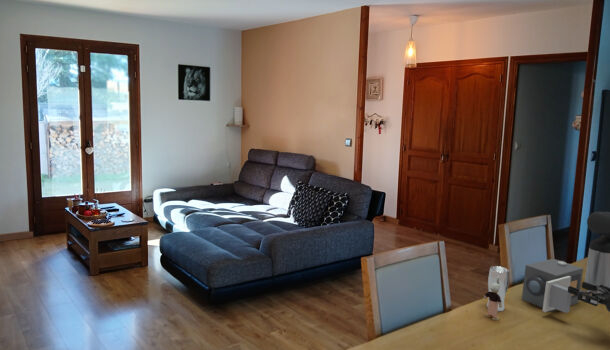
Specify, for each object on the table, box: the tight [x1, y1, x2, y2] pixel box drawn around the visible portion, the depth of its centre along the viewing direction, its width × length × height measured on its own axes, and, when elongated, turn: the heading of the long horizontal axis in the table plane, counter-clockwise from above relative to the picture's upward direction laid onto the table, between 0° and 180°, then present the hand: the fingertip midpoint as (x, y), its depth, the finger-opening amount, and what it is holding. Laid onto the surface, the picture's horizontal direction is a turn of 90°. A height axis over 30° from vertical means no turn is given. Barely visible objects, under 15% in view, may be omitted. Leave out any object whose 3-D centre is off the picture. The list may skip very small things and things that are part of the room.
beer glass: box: [486, 265, 510, 312], centre depth 167 cm, size 7×7×15 cm
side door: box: [542, 276, 572, 313], centre depth 162 cm, size 14×7×11 cm, turn 121°
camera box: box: [521, 258, 584, 313], centre depth 174 cm, size 21×12×15 cm, turn 121°
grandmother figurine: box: [483, 283, 502, 321], centre depth 160 cm, size 8×4×13 cm, turn 37°
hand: (575, 286), depth 155 cm, fingers open, 8 cm apart
